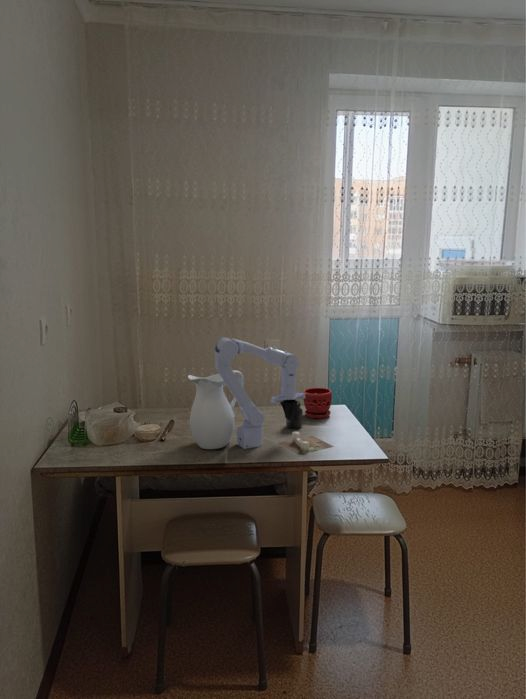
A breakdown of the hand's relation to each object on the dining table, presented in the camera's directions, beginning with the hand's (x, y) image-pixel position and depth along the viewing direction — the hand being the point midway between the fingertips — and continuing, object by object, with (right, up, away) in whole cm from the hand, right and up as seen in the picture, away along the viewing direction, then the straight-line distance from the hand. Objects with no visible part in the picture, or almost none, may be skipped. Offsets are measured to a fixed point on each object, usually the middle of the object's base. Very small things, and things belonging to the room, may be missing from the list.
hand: (288, 418), depth 205 cm
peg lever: (+4, -9, -6) cm, 12 cm away
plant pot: (+15, -4, +37) cm, 40 cm away
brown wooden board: (+7, -11, -3) cm, 13 cm away
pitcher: (-26, -10, 0) cm, 28 cm away
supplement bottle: (+3, -7, +17) cm, 19 cm away
